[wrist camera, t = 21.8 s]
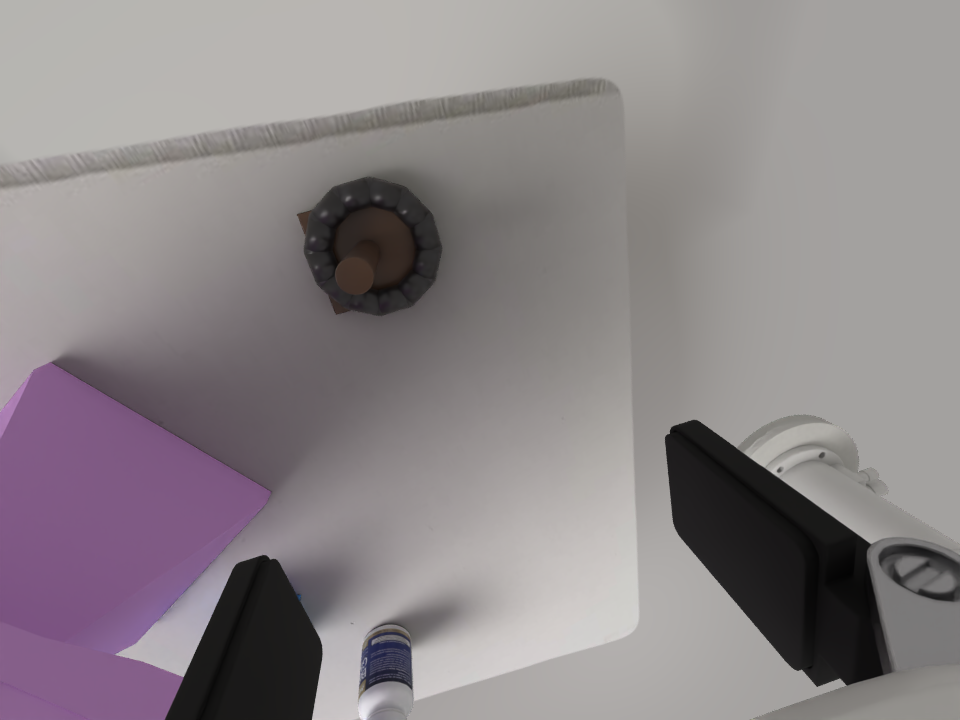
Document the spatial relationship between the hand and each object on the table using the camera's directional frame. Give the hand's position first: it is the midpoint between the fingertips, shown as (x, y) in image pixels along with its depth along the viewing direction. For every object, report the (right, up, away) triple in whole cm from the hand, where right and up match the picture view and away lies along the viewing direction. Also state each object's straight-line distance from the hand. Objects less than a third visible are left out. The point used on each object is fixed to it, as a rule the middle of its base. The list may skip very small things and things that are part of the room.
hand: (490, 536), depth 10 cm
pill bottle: (-11, -27, +40) cm, 49 cm away
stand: (-9, +13, +25) cm, 30 cm away
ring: (-8, +13, +23) cm, 28 cm away
